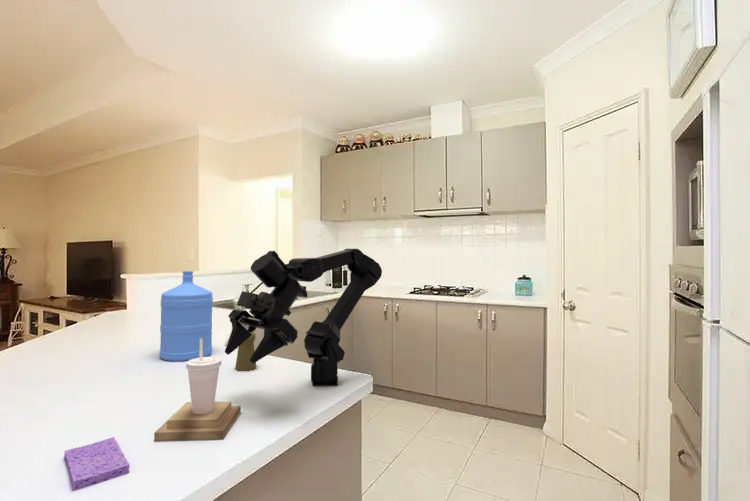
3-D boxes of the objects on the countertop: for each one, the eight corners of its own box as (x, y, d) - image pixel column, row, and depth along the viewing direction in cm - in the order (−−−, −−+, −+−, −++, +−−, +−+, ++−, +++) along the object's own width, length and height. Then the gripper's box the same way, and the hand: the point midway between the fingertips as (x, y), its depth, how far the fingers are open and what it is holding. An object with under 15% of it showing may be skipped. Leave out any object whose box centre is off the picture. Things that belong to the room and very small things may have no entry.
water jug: (198, 362, 121) (200, 272, 122) (149, 361, 122) (150, 272, 122) (219, 350, 137) (220, 270, 137) (175, 349, 137) (176, 270, 138)
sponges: (72, 494, 55) (72, 481, 55) (63, 460, 64) (63, 448, 64) (130, 475, 60) (130, 463, 60) (114, 446, 69) (114, 435, 69)
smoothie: (185, 407, 78) (186, 336, 78) (219, 402, 80) (220, 334, 80) (184, 419, 72) (186, 343, 72) (221, 413, 74) (223, 340, 75)
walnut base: (240, 412, 82) (240, 398, 83) (223, 439, 71) (223, 422, 71) (182, 414, 82) (182, 399, 82) (154, 441, 70) (154, 424, 70)
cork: (250, 372, 111) (250, 333, 111) (230, 370, 112) (231, 332, 113) (260, 366, 117) (260, 329, 117) (242, 365, 118) (242, 329, 119)
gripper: (236, 274, 92) (190, 329, 84) (287, 281, 81) (240, 344, 73) (263, 303, 99) (223, 356, 90) (314, 313, 88) (274, 375, 79)
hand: (238, 357), depth 83 cm, fingers open, 9 cm apart
